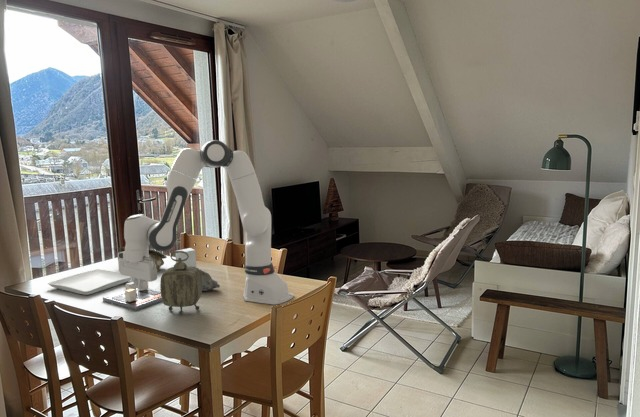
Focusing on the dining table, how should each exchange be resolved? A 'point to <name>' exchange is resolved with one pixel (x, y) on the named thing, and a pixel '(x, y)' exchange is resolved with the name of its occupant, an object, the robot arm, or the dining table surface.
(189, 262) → the skincare box
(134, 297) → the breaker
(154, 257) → the hollow geode rock
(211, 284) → the mineral rock
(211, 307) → the dining table surface
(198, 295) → the tabletop clock
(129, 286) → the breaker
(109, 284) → the square plate
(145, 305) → the panel
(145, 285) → the breaker
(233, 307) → the dining table surface
